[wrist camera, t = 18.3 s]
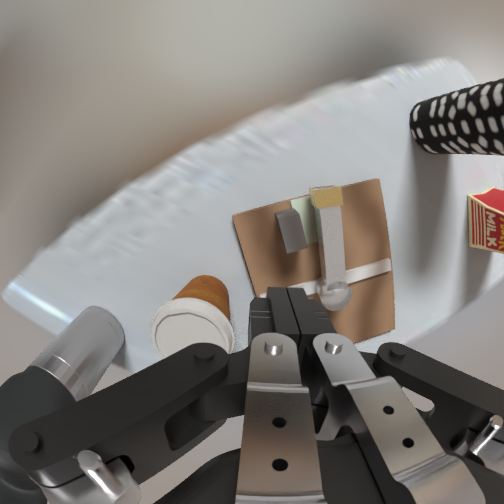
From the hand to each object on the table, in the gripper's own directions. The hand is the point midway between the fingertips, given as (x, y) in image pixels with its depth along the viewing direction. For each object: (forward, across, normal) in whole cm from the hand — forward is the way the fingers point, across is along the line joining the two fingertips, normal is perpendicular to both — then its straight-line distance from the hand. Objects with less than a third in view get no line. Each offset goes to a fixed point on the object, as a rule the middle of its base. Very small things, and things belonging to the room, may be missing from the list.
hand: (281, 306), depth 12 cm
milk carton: (+24, -40, -4) cm, 47 cm away
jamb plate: (+24, -10, +9) cm, 28 cm away
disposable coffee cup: (+25, +6, +12) cm, 29 cm away
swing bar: (+22, -9, +3) cm, 24 cm away
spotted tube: (+24, -25, -16) cm, 38 cm away
